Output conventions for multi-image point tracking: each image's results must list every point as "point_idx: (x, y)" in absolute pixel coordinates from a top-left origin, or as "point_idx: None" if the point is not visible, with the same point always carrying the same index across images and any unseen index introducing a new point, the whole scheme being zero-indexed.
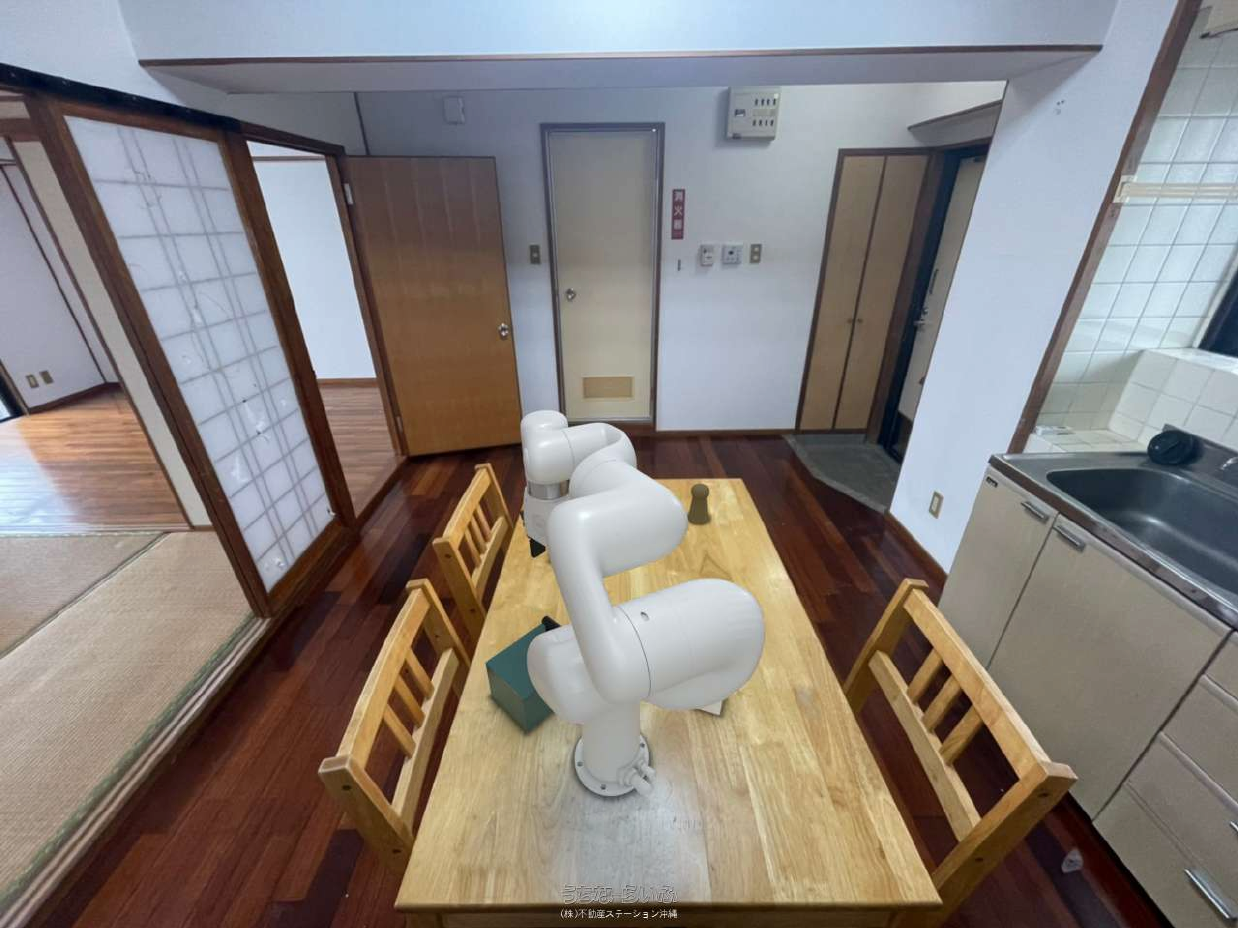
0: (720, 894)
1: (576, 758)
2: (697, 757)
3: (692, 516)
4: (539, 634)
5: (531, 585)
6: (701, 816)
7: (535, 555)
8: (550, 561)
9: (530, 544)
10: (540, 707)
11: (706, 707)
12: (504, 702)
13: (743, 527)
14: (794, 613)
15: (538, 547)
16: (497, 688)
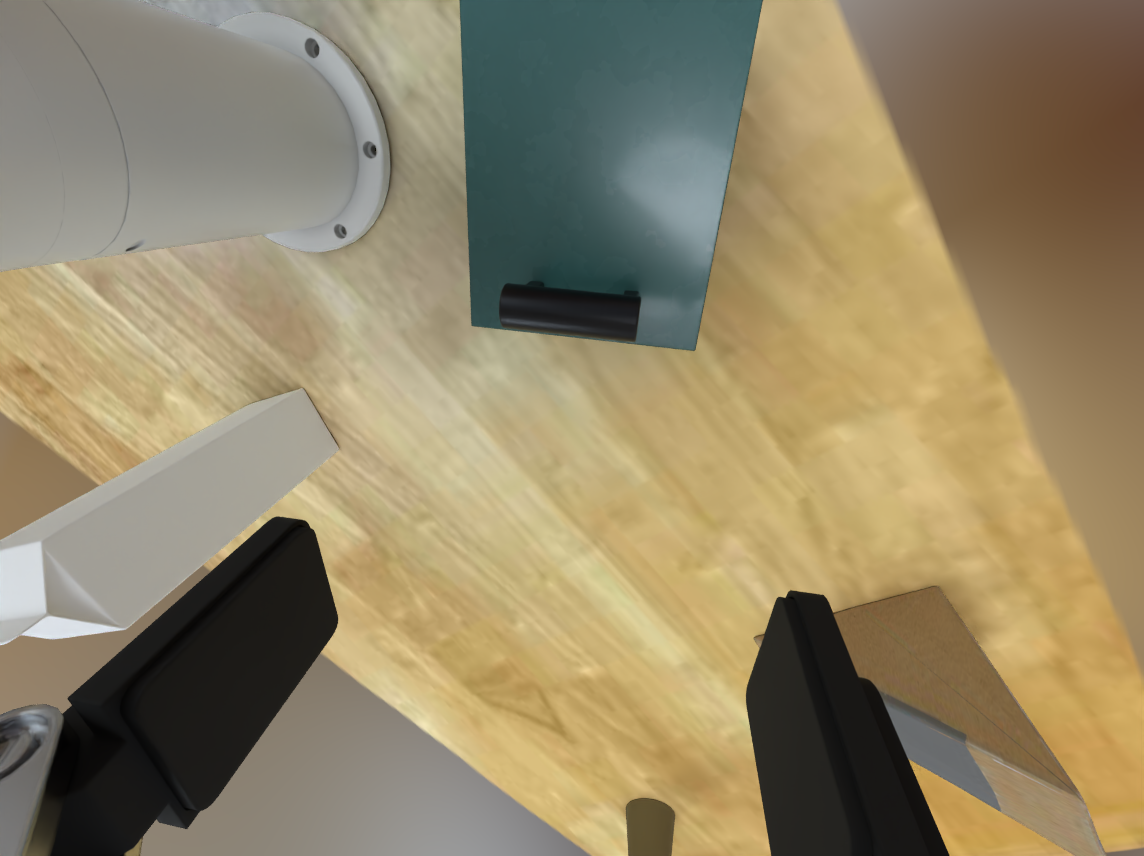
0: None
1: (331, 54)
2: (198, 290)
3: (654, 819)
4: (663, 277)
5: (937, 484)
6: None
7: (780, 622)
8: (937, 587)
9: (878, 776)
10: None
11: (261, 402)
12: None
13: (551, 809)
14: (337, 664)
15: (784, 731)
16: None
